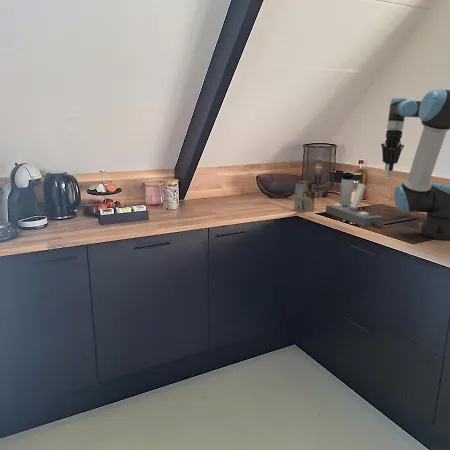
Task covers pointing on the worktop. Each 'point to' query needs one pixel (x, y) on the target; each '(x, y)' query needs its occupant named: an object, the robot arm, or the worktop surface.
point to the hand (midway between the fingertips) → (387, 176)
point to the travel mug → (346, 188)
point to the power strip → (354, 215)
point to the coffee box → (304, 196)
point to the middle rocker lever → (357, 196)
